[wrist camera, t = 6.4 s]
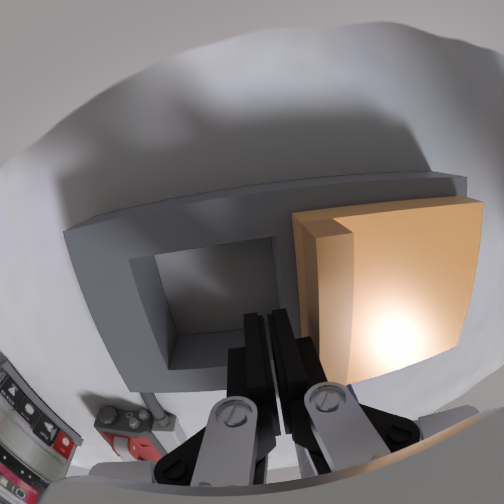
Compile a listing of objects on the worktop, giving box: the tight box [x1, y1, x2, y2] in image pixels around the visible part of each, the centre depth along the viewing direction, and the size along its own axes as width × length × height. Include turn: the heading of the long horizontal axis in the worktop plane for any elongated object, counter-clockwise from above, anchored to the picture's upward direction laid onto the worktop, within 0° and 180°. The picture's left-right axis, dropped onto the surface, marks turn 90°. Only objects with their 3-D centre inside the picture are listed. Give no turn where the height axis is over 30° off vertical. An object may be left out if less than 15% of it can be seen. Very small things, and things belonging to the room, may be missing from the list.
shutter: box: [292, 196, 483, 387], centre depth 11 cm, size 10×9×4 cm
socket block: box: [63, 171, 467, 393], centre depth 15 cm, size 22×11×4 cm, turn 98°
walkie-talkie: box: [94, 392, 187, 462], centre depth 20 cm, size 9×4×20 cm
